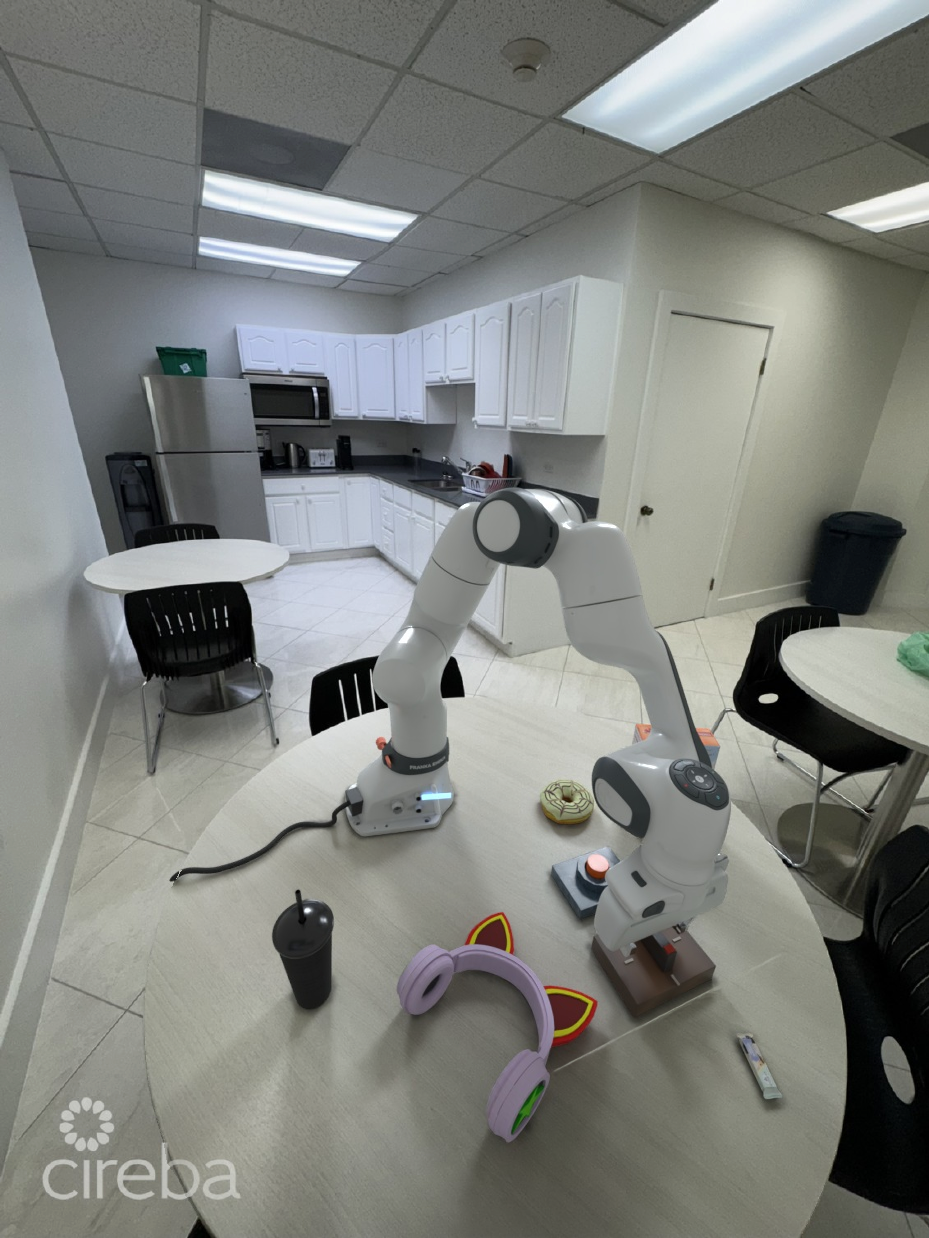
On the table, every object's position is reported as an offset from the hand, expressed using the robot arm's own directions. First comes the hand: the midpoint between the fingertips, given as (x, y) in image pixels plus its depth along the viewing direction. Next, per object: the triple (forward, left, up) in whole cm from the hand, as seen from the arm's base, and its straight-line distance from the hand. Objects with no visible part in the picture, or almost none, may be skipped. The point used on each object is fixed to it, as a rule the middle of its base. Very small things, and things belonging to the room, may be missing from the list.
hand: (652, 939), depth 71 cm
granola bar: (+5, -15, -6) cm, 17 cm away
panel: (+1, 0, -6) cm, 6 cm away
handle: (+1, 0, -3) cm, 3 cm away
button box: (+1, +14, -6) cm, 15 cm away
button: (+1, +14, -2) cm, 14 cm away
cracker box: (+22, +22, -6) cm, 31 cm away
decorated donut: (+6, +31, -6) cm, 32 cm away
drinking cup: (-46, +14, -6) cm, 49 cm away
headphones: (-23, +2, -6) cm, 24 cm away
